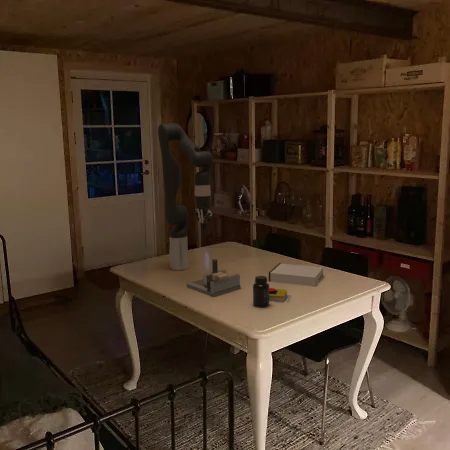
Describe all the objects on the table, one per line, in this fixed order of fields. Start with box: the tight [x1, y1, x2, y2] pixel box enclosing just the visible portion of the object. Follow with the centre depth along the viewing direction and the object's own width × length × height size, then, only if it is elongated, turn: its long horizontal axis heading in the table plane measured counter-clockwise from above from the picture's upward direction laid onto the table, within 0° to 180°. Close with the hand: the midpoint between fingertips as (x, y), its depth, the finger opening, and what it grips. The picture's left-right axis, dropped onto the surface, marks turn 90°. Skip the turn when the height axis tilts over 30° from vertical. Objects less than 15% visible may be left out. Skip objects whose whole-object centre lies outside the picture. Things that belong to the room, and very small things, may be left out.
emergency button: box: [269, 287, 293, 303], centre depth 222 cm, size 9×4×15 cm
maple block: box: [213, 272, 229, 281], centre depth 232 cm, size 5×5×6 cm
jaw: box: [203, 258, 227, 288], centre depth 234 cm, size 2×12×12 cm, turn 132°
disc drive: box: [268, 262, 324, 287], centre depth 248 cm, size 18×22×5 cm
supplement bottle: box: [252, 275, 270, 308], centre depth 213 cm, size 7×7×12 cm
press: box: [186, 273, 242, 298], centre depth 236 cm, size 20×16×6 cm
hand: (203, 230), depth 243 cm, fingers closed
